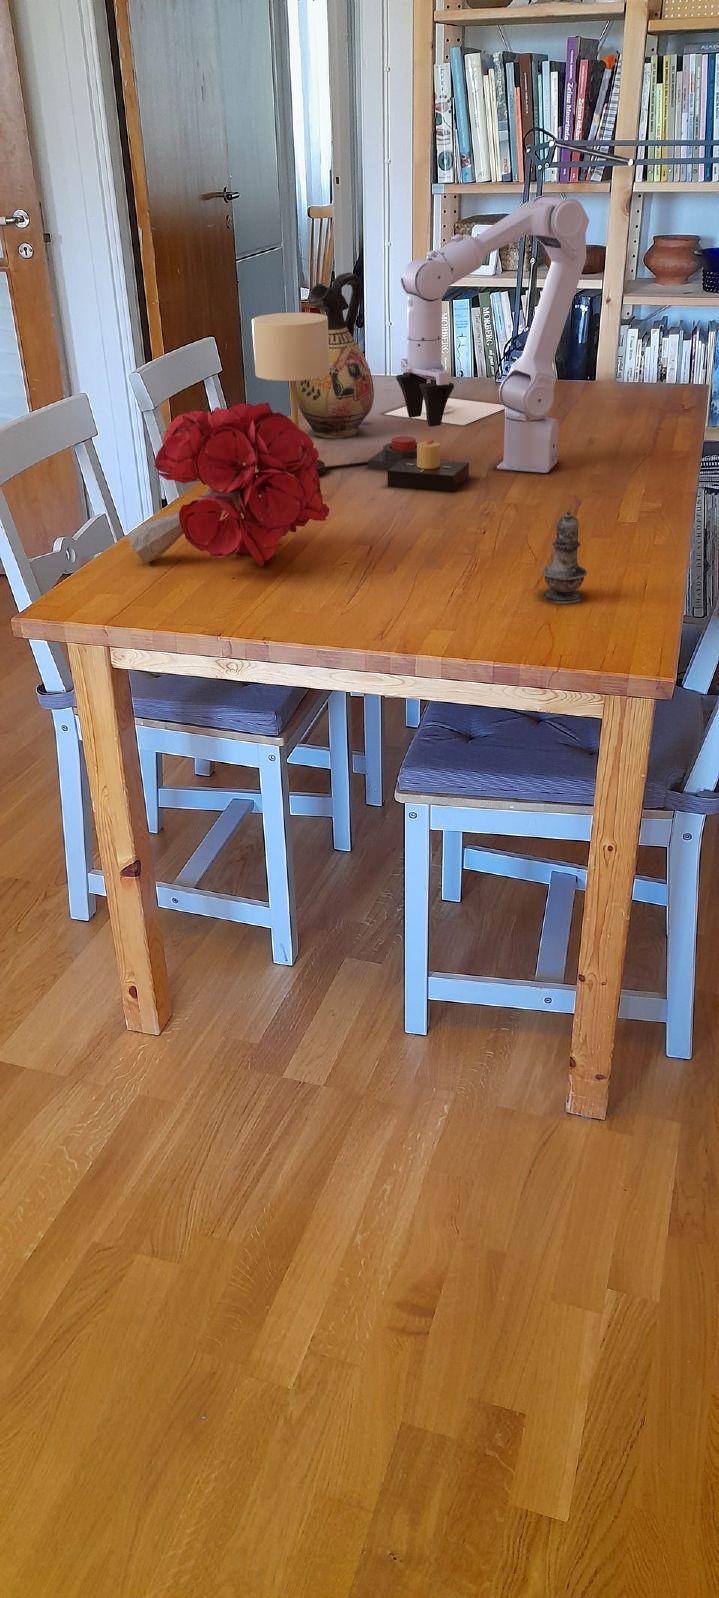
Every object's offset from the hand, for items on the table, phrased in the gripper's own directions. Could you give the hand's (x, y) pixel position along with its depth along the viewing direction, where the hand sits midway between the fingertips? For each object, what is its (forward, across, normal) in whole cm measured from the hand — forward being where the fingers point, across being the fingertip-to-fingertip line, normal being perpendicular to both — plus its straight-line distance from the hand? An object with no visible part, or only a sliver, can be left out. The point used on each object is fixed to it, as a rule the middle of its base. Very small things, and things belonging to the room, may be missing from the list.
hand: (424, 420), depth 207 cm
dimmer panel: (+10, +2, 0) cm, 10 cm away
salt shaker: (+10, +60, -9) cm, 61 cm away
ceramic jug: (+10, -39, 0) cm, 41 cm away
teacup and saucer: (+10, -46, +29) cm, 55 cm away
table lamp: (+10, -15, -15) cm, 24 cm away
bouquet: (+10, +24, -44) cm, 51 cm away
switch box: (+10, -10, +1) cm, 15 cm away
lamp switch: (+7, -10, +1) cm, 13 cm away
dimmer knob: (+7, +2, 0) cm, 8 cm away
